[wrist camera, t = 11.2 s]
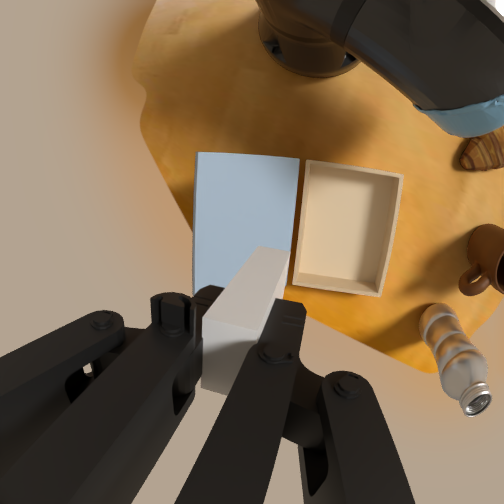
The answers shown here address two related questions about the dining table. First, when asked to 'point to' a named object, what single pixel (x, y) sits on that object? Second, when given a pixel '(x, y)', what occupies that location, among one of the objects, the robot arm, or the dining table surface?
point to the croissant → (485, 151)
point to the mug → (484, 261)
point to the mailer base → (346, 227)
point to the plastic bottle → (456, 359)
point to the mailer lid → (239, 211)
